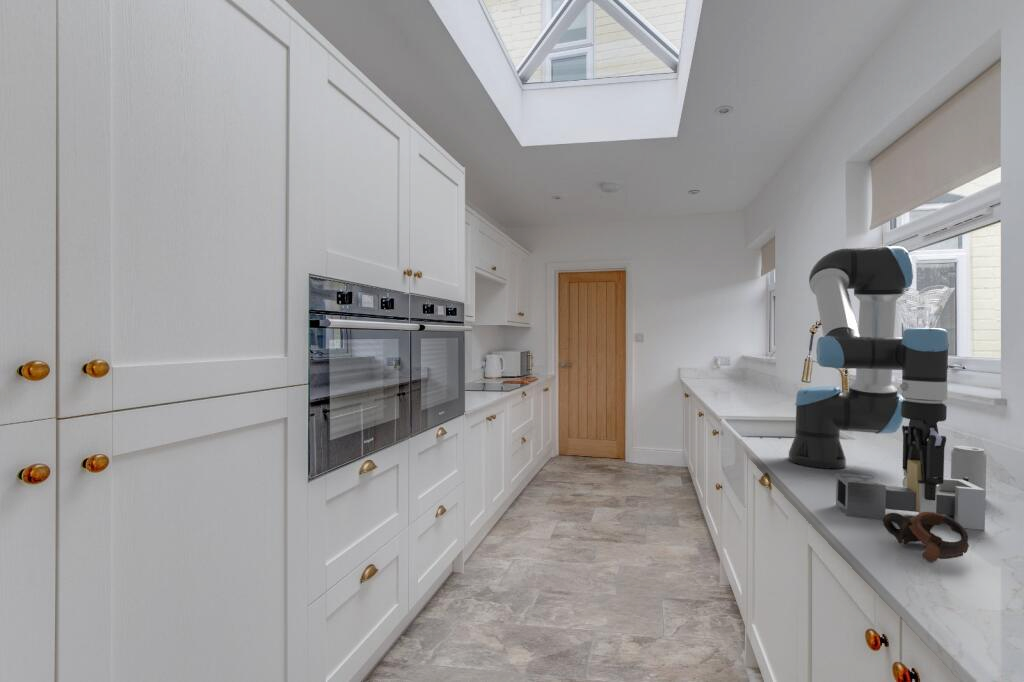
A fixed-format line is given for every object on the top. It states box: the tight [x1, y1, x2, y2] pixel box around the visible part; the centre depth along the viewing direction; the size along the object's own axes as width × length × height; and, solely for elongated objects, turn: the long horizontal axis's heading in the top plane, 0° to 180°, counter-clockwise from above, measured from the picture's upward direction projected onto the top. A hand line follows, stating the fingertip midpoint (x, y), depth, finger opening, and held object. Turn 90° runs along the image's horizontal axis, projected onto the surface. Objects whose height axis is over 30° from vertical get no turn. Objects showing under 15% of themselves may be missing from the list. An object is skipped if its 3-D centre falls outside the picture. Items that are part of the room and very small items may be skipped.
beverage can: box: [950, 445, 987, 498], centre depth 125 cm, size 6×6×12 cm
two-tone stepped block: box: [885, 460, 955, 515], centre depth 109 cm, size 4×17×10 cm, turn 74°
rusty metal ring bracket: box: [881, 512, 970, 563], centre depth 91 cm, size 12×10×8 cm
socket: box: [938, 477, 987, 531], centre depth 107 cm, size 8×4×8 cm, turn 164°
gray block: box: [835, 472, 887, 520], centre depth 112 cm, size 7×7×7 cm
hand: (921, 510), depth 109 cm, fingers closed on two-tone stepped block, 4 cm apart
